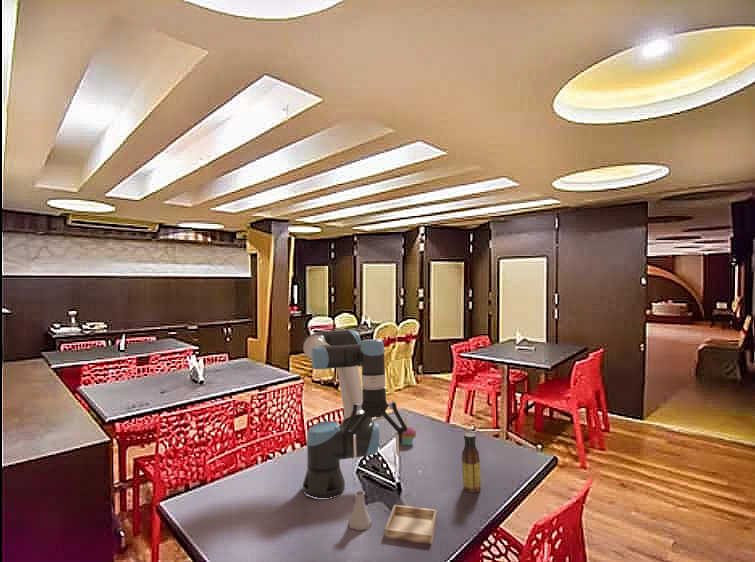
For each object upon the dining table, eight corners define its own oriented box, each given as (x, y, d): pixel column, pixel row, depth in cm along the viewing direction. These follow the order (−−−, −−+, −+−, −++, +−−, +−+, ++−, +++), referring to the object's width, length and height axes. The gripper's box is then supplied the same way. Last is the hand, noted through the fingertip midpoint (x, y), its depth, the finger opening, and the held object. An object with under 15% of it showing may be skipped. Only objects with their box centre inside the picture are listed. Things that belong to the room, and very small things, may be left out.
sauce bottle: (478, 484, 161) (477, 431, 160) (482, 493, 155) (482, 437, 154) (460, 485, 161) (460, 431, 160) (464, 493, 154) (464, 437, 154)
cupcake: (395, 441, 203) (394, 415, 202) (412, 438, 205) (412, 413, 205) (401, 448, 194) (401, 421, 194) (419, 445, 197) (419, 419, 197)
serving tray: (384, 537, 129) (384, 529, 129) (394, 512, 143) (394, 504, 143) (431, 544, 126) (431, 535, 126) (437, 517, 140) (437, 509, 140)
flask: (368, 532, 132) (368, 499, 132) (345, 529, 134) (345, 497, 133) (373, 519, 139) (373, 488, 139) (352, 516, 141) (351, 486, 141)
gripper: (334, 391, 137) (336, 461, 135) (413, 387, 138) (416, 456, 136) (335, 387, 144) (337, 453, 143) (410, 383, 145) (413, 449, 144)
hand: (376, 455), depth 139 cm, fingers open, 13 cm apart
